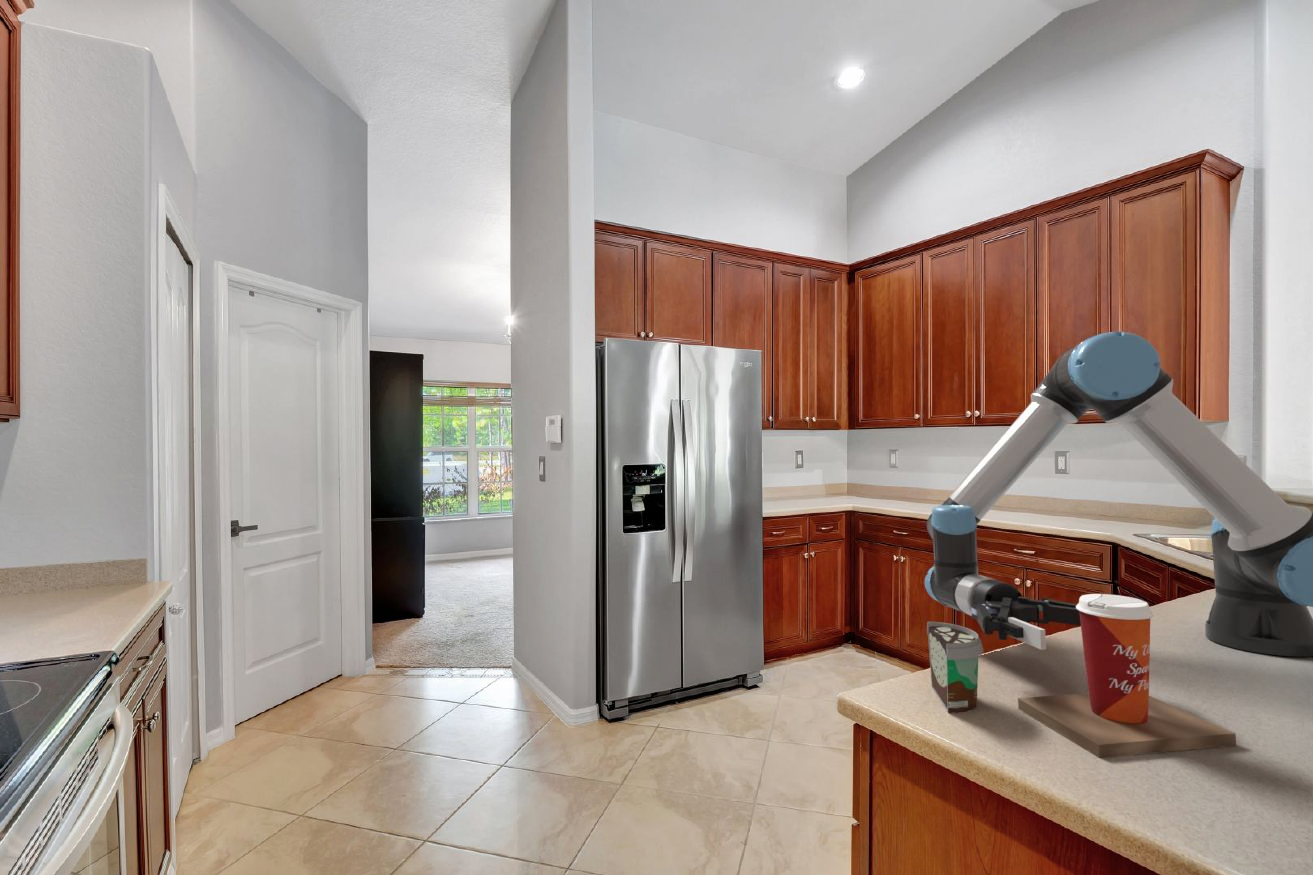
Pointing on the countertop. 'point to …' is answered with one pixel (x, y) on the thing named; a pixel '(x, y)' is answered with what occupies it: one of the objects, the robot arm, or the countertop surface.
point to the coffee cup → (1116, 655)
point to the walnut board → (1125, 727)
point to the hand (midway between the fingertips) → (1088, 636)
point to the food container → (954, 665)
